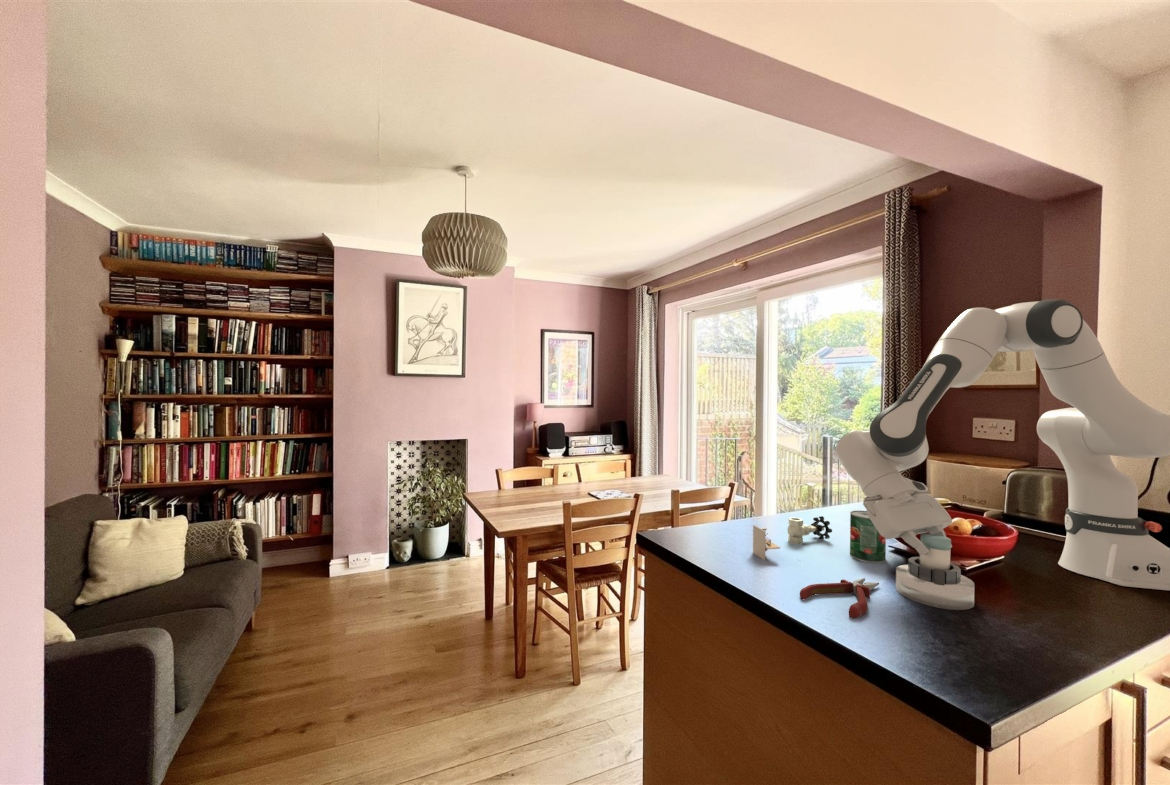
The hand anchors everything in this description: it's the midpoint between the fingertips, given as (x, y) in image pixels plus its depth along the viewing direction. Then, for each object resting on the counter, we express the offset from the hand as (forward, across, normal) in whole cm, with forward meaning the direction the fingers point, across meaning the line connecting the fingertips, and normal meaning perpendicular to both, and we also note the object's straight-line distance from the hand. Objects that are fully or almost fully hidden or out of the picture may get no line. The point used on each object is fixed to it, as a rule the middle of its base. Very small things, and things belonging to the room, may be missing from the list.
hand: (937, 551), depth 96 cm
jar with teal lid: (+3, 0, +4) cm, 5 cm away
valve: (-19, +5, +33) cm, 38 cm away
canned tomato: (-8, +9, +22) cm, 25 cm away
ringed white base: (+6, +1, +8) cm, 9 cm away
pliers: (+3, -17, +11) cm, 21 cm away
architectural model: (-16, -16, +30) cm, 37 cm away
